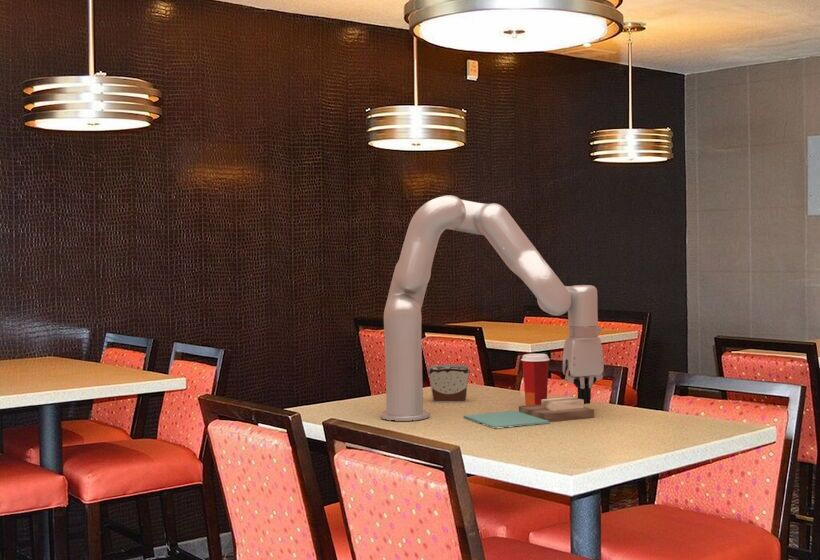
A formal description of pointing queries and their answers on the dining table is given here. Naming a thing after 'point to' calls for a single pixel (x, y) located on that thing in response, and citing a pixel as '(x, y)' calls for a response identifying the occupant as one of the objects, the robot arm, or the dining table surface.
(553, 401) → the beige flat block
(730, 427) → the dining table surface
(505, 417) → the mat
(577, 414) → the block
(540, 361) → the paper cup
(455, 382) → the food container
